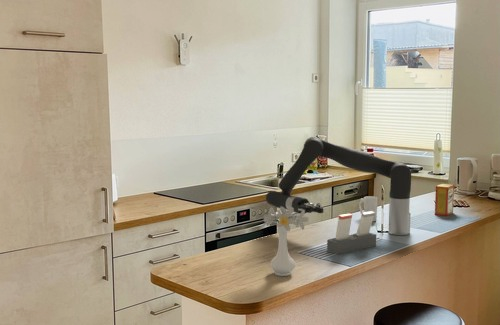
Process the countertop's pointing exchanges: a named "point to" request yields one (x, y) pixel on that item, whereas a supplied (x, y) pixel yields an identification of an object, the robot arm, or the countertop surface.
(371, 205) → the mug
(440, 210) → the baking soda box
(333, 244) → the gray rectangular block
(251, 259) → the countertop surface
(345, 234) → the panel
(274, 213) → the flower vase
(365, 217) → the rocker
